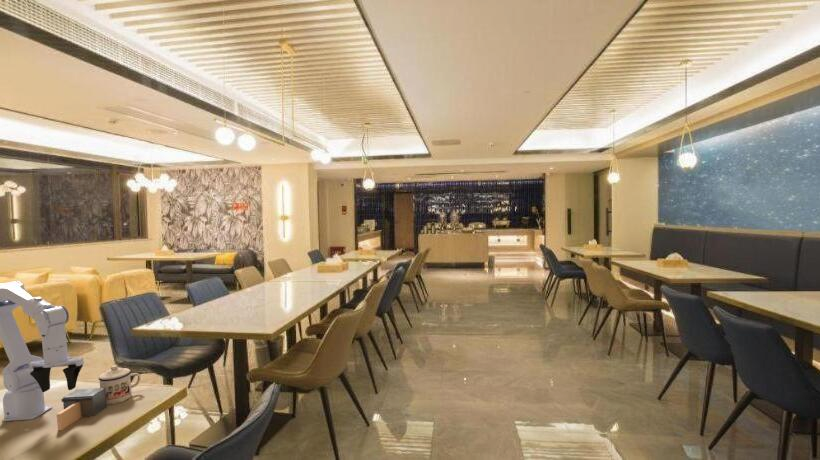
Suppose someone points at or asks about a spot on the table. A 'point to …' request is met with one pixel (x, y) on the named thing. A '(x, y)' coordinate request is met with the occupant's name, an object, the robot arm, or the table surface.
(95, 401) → the dispenser
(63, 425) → the long wooden plank
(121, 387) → the teacup with lid
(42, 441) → the table surface
